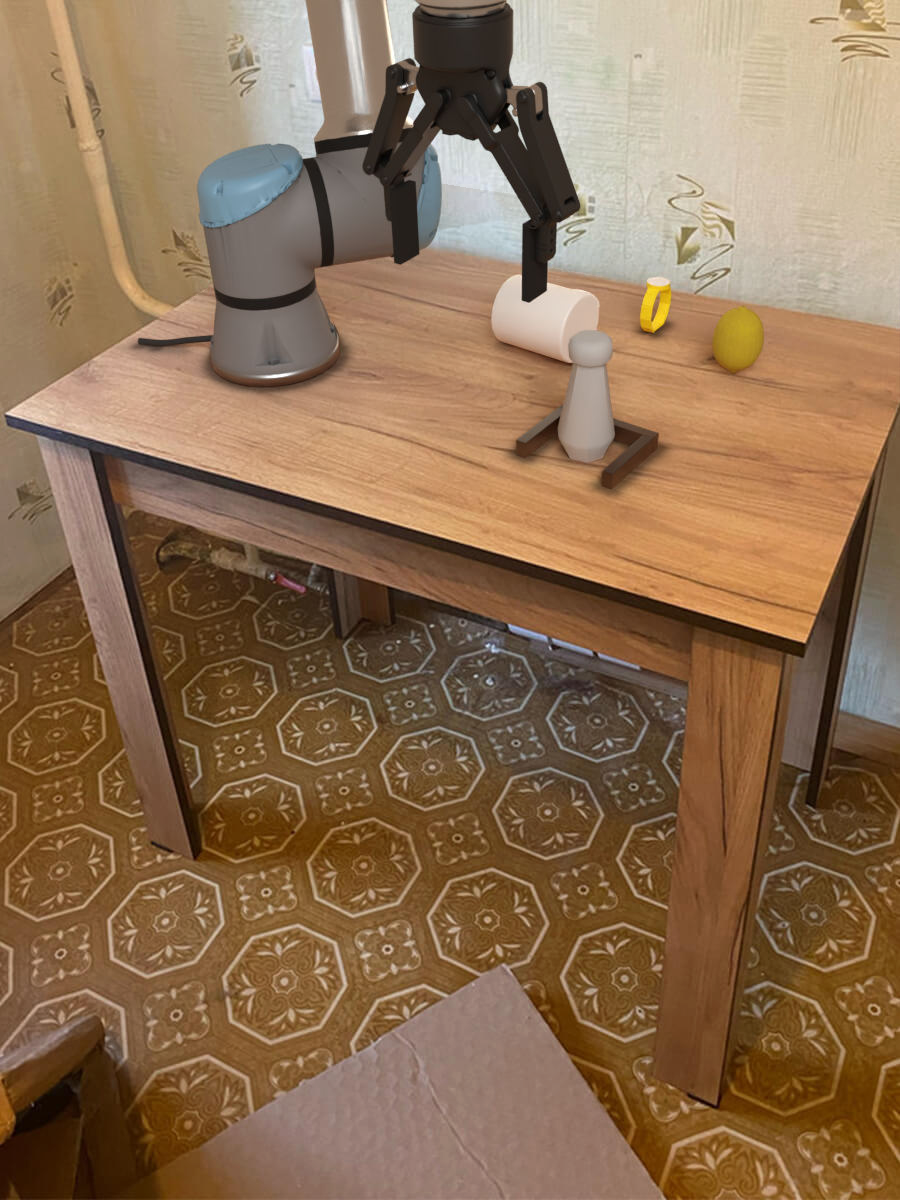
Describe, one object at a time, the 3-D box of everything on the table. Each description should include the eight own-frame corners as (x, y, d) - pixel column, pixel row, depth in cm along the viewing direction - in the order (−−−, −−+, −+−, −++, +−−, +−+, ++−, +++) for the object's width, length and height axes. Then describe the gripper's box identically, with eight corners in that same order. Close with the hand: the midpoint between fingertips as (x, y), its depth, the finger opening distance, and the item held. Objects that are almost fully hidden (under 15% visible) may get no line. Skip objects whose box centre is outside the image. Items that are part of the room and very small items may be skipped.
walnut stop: (515, 454, 114) (516, 439, 113) (564, 416, 120) (564, 402, 118) (611, 489, 108) (612, 474, 107) (657, 447, 114) (659, 432, 113)
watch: (654, 340, 132) (658, 293, 129) (632, 335, 134) (636, 288, 130) (674, 320, 136) (679, 274, 132) (653, 316, 137) (657, 270, 134)
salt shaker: (545, 454, 114) (548, 338, 106) (578, 431, 117) (583, 316, 109) (591, 473, 111) (598, 355, 102) (624, 449, 114) (633, 333, 106)
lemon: (737, 389, 123) (746, 322, 117) (698, 372, 126) (706, 306, 121) (768, 372, 125) (779, 306, 120) (730, 356, 129) (738, 291, 123)
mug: (560, 374, 127) (562, 309, 122) (490, 351, 132) (489, 288, 127) (616, 335, 134) (620, 272, 129) (548, 314, 139) (549, 253, 134)
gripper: (303, -5, 85) (331, 258, 99) (580, 38, 73) (568, 331, 87) (366, -25, 90) (384, 230, 103) (636, 13, 78) (616, 295, 92)
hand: (468, 277), depth 95 cm, fingers open, 13 cm apart
